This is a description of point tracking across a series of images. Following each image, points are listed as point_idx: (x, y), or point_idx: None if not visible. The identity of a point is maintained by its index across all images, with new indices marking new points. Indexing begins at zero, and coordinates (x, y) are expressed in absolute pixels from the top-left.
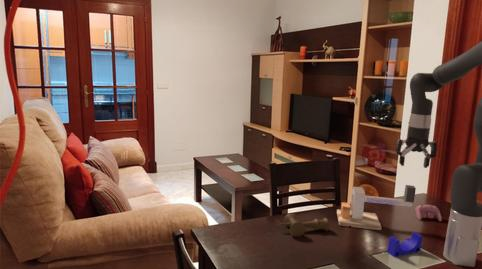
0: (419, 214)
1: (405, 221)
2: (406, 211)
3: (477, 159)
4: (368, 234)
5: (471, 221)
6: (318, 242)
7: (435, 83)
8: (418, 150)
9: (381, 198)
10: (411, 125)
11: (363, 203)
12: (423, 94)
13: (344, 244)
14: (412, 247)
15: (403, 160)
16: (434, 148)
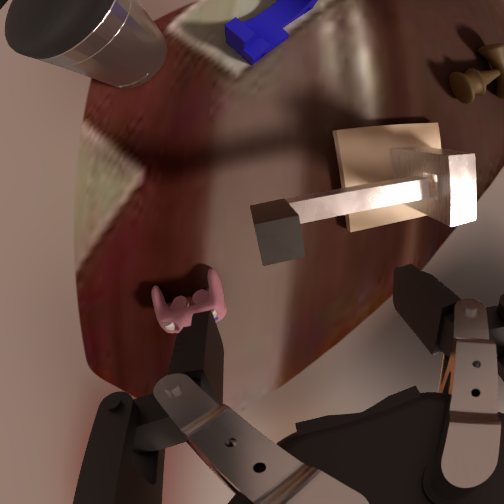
0: (214, 279)
1: (256, 237)
2: (248, 316)
3: None
4: (364, 89)
5: None
6: (448, 27)
7: None
8: (341, 431)
9: (379, 191)
10: None
11: (425, 151)
12: None
13: (406, 24)
14: (251, 21)
15: (428, 285)
16: (100, 491)
